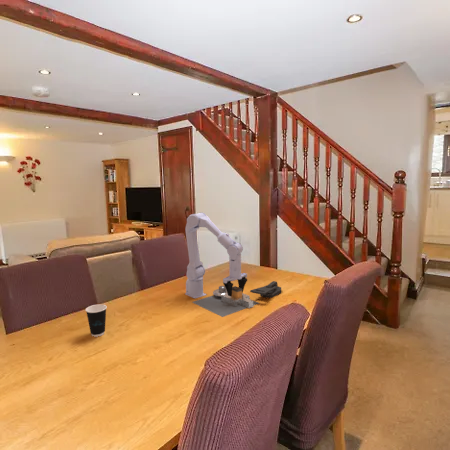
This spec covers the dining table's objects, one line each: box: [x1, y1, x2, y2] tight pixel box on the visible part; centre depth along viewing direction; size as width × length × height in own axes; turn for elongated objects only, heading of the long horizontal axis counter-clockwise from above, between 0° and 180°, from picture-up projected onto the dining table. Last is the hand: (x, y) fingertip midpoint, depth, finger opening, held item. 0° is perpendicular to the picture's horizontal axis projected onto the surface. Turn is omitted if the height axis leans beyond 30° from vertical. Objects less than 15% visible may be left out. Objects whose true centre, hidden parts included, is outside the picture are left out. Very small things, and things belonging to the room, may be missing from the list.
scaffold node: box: [212, 285, 254, 309], centre depth 163 cm, size 26×10×5 cm, turn 41°
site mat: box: [191, 294, 260, 318], centre depth 160 cm, size 24×24×1 cm
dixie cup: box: [84, 303, 108, 338], centre depth 129 cm, size 8×8×11 cm
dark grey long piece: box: [249, 280, 282, 299], centre depth 168 cm, size 9×7×25 cm
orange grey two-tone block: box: [232, 285, 242, 298], centre depth 160 cm, size 5×3×7 cm, turn 40°
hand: (235, 293), depth 161 cm, fingers open, 7 cm apart
